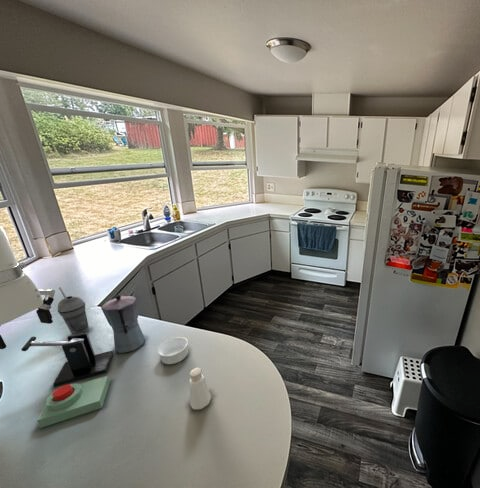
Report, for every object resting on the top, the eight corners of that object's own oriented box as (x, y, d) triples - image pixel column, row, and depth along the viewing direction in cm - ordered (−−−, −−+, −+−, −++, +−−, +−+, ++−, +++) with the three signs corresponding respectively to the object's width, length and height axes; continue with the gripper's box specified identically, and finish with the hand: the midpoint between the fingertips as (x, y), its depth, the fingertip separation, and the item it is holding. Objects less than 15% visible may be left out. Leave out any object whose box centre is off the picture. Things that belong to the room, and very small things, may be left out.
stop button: (51, 403, 64) (49, 398, 64) (57, 392, 67) (55, 387, 67) (70, 398, 66) (68, 393, 65) (75, 387, 69) (73, 382, 68)
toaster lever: (20, 353, 69) (21, 345, 68) (29, 341, 73) (31, 334, 72) (79, 352, 75) (80, 345, 75) (84, 341, 79) (86, 335, 79)
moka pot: (143, 328, 98) (131, 284, 91) (152, 350, 88) (139, 301, 81) (112, 340, 92) (96, 293, 85) (118, 364, 82) (101, 313, 75)
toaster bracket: (54, 387, 73) (40, 355, 69) (66, 365, 81) (54, 335, 77) (106, 372, 79) (95, 342, 75) (113, 353, 86) (104, 324, 82)
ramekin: (174, 369, 81) (171, 358, 79) (153, 361, 83) (151, 351, 82) (195, 350, 89) (193, 340, 87) (176, 343, 91) (174, 334, 90)
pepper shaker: (200, 413, 68) (195, 383, 64) (185, 406, 69) (179, 376, 65) (215, 396, 72) (211, 367, 69) (201, 390, 74) (195, 361, 70)
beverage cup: (92, 335, 94) (76, 288, 87) (65, 342, 90) (46, 294, 83) (95, 324, 100) (80, 279, 93) (70, 330, 96) (52, 284, 89)
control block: (40, 428, 63) (34, 415, 61) (56, 398, 70) (50, 386, 68) (101, 408, 68) (97, 395, 66) (110, 382, 75) (106, 371, 74)
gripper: (29, 260, 68) (51, 313, 73) (-75, 293, 51) (-36, 357, 57) (53, 262, 67) (73, 316, 72) (-46, 296, 51) (-10, 362, 56)
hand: (25, 334), depth 65 cm, fingers open, 9 cm apart
